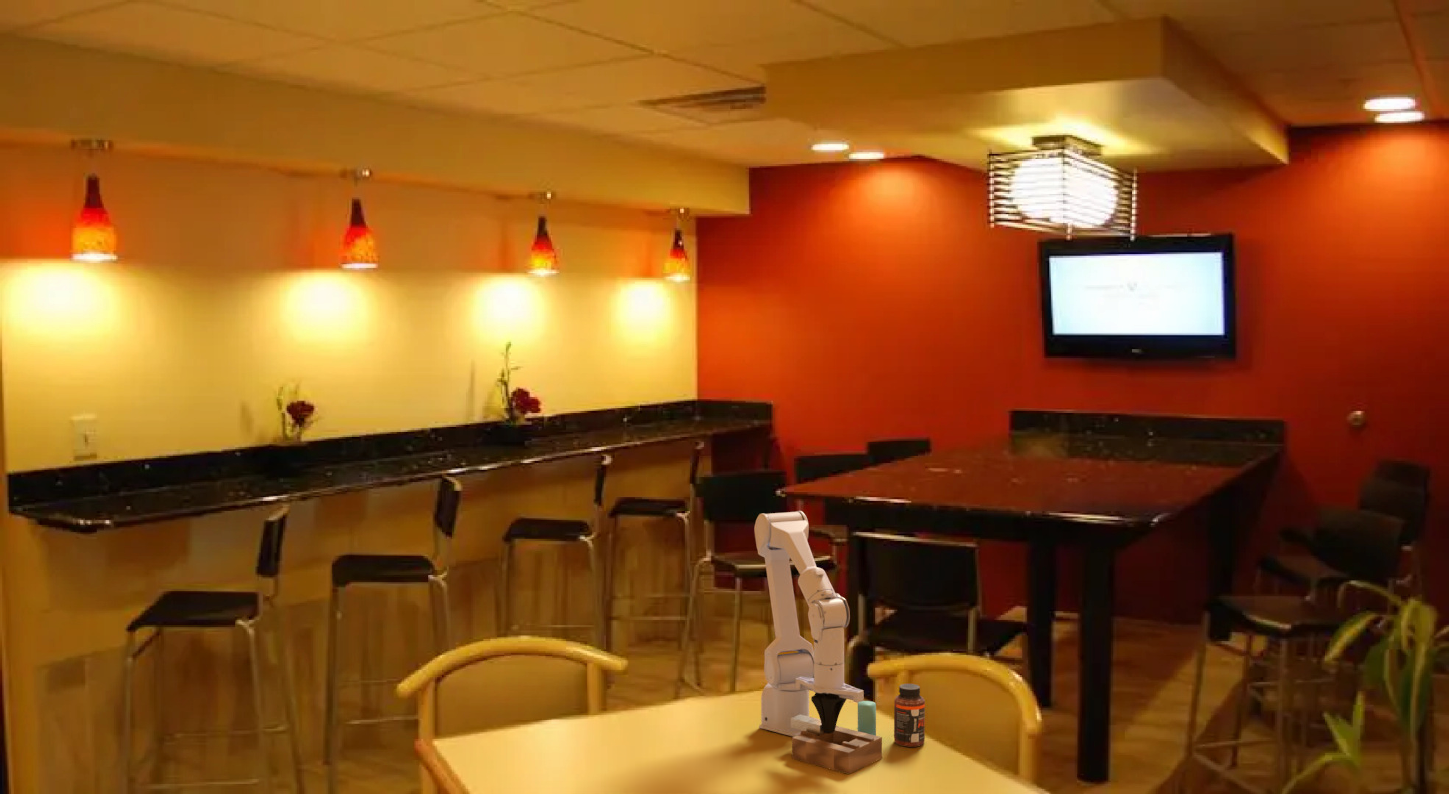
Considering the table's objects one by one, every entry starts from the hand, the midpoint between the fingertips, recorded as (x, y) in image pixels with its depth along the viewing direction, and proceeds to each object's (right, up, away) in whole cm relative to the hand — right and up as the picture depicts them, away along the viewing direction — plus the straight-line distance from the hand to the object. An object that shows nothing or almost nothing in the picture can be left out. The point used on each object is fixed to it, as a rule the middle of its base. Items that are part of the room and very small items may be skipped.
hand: (829, 732), depth 238 cm
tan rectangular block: (-3, 0, +3) cm, 5 cm away
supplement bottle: (+16, -4, +7) cm, 18 cm away
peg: (+8, -4, +10) cm, 14 cm away
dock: (+1, -5, -1) cm, 5 cm away
